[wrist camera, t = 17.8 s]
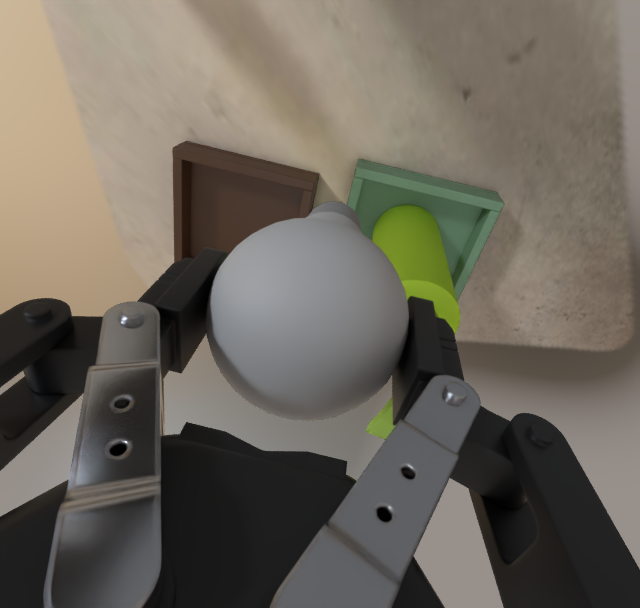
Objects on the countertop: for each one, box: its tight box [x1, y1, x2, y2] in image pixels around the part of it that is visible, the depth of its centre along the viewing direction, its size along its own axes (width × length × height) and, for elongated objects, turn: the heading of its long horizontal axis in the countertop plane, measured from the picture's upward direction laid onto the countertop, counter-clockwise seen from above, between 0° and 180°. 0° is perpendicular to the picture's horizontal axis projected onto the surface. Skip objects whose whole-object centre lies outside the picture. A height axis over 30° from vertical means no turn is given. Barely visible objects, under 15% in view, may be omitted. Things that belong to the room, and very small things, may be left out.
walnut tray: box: [173, 141, 319, 263], centre depth 37 cm, size 12×12×3 cm
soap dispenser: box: [366, 205, 460, 440], centre depth 28 cm, size 6×7×20 cm
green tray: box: [347, 159, 504, 301], centre depth 36 cm, size 12×12×3 cm
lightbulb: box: [206, 201, 409, 421], centre depth 14 cm, size 6×6×11 cm
